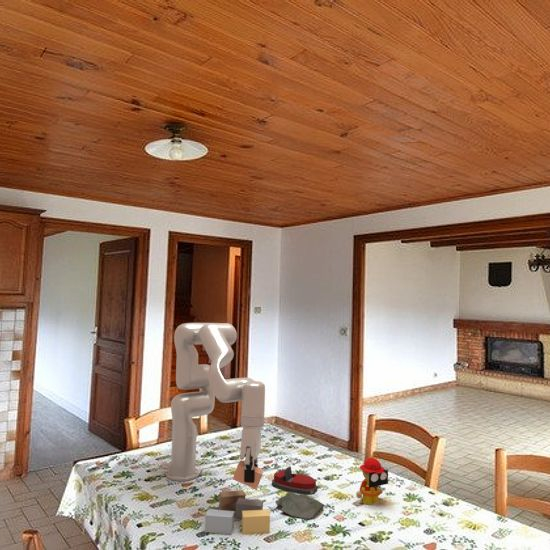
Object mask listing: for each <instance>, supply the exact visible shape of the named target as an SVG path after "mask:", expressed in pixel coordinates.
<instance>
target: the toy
mask: <svg viewBox="0 0 550 550" xmlns="http://www.w3.org/2000/svg"><path fill="white" fill-rule="evenodd" d="M359 469H360V470H361V471H362V475H363V477H364V479H363V480H362V481H361V484H360V487H359V491H356V493H355V495H356V498H357V499H361V498H362V503H363V504H365V505H372V504H378V503H379V496H380V495H382V494H383V489H382V488H380V486H384V485H388V483H389V469H385V467H384V466H382V464H381V462H380V461H379V460H378V459H377V458H374V457H368V458H366V459H365V461H364V462H363V464H361V465H360V466H359Z"/></svg>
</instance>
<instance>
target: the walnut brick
mask: <svg viewBox="0 0 550 550" xmlns="http://www.w3.org/2000/svg"><path fill="white" fill-rule="evenodd" d="M218 497H219V499H218V508H220V509H219V510H225V511H234V512H235V511H236V502H237V500H238V499H239V498H242V499H246V493H245V491H244V489H240V490H229V491H228V490H227V491H219V496H218Z"/></svg>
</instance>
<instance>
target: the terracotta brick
mask: <svg viewBox="0 0 550 550" xmlns="http://www.w3.org/2000/svg"><path fill="white" fill-rule="evenodd" d="M244 469H245V460H243V459H242V460H241V459H240V461H239V462H238V464H237V466H236V469H235V472H234V476H233V477H232V480H234V481H235V482H238V483H239V484H243V485H245V486H247V487H249V488H252V489H254V490H257V489H258V487H259V485H260V482H261V479H262V476H263V473H264V471H265V470H264V468H263V469H262V468H260V467H256V466H254V469H255V479H254V483H248V482H244Z"/></svg>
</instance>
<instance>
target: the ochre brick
mask: <svg viewBox="0 0 550 550" xmlns="http://www.w3.org/2000/svg"><path fill="white" fill-rule="evenodd" d="M270 527H271V515H270V511H269V509H263V510H248V511H242V520H241V530H242V531H241V532H243V533H242V534H243V535H248V534H249V535H250V534H267V533H269V534H270V533H271V531H270Z"/></svg>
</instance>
